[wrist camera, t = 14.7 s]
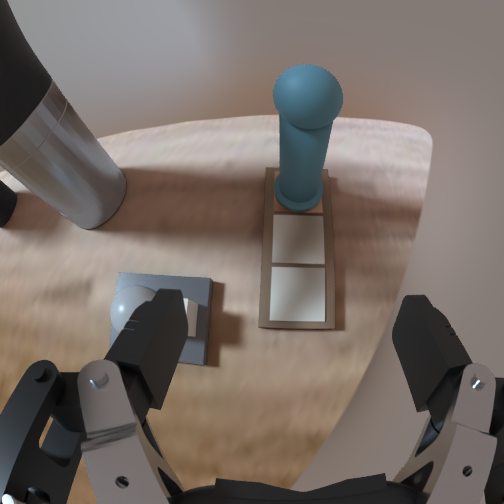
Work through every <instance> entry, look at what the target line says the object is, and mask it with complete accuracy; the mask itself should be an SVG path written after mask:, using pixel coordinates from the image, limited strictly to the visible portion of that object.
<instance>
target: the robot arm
mask: <svg viewBox="0 0 504 504" xmlns="http://www.w3.org/2000/svg"><path fill="white" fill-rule="evenodd" d="M0 165H1V166H2V167H3V168H4V169H5V170H7V171H8V172H9V173H10V174H11V175H12V176H14V177H15V178H16V179H17V180H18V181H20V182H21V183H22V184H23V185H25V187H26V188H28V189H29V190H30V191H31V192H33V193H34V194H35V195H37V196H38V197H39V198H40V199H42V200H43V201H44V202H46V203H47V204H48V205H49V206H51V207H52V208H53V209H55V210H56V211H57V212H59V213H60V214H62V215H63V216H64V217H66V218H67V219H69V220H70V221H72V222H73V223H74V224H76V225H77V226H79V227H80V228H83V229H91V228H95V227H98V226H99V225H101V224H103V223H104V222H106V221H107V220H108V219H109V218H110V217H111V216H112V215H113V214H114V213H115V212H116V210H117V209H118V208H119V206H120V204H121V202H122V200H123V198H124V195H125V191H126V179H125V176H124V174H123V173H122V171H121V170H120V169H119V168H118V166H117V165H116V164H115V163H114V161H113V160H112V159H111V158H110V156H109V155H108V153H107V152H106V151H105V150H104V148H103V147H102V146H101V145H100V143H99V142H98V141H97V139H96V138H95V137H94V135H93V134H92V133H91V132H90V130H89V129H88V128H87V126H86V125H85V124H84V122H83V121H82V120H81V118H80V117H79V116H78V114H77V113H76V112H75V110H74V109H73V107H72V106H71V105H70V103H69V102H68V101H67V99H66V98H65V96H64V95H63V94H62V92H61V91H60V89H59V88H58V87H57V85H56V84H55V82H54V81H53V79H52V78H51V76H50V75H49V73H48V72H47V71H46V69H45V68H44V66H43V65H42V64H41V62H40V61H39V59H38V58H37V56H36V55H35V53H34V52H33V50H32V49H31V47H30V45H29V44H28V42H27V41H26V39H25V37H24V35H23V33H22V32H21V29H20V28H19V26H18V24H17V22H16V19H15V17H14V15H13V13H12V11H11V8H10V6H9V4H8V2H7V0H0ZM187 336H188V320H187V315H186V310H185V305H184V299H183V294H182V292H181V290H178V289H165V288H160V289H158V291H157V292H156V294H155V296H154V297H153V299H152V300H151V301H145V302H144V303H142V304H141V305H140V306H138V307H137V308H136V309H135V310H134V312H133V313H132V315H131V316H130V318H129V321H127V322H126V324H125V326H124V329H122V330H121V332H120V334H119V335H118V337H117V338H116V340H115V342H114V343H113V345H112V346H111V348H110V350H109V351H108V353H107V355H106V356H105V358H104V359H103V360H96V361H93V362H90V363H88V364H87V365H86V366H84V367H83V368H82V370H81V371H80V372H59V371H58V369H57V368H56V366H55V365H54V363H52V362H51V361H48V360H41V361H37V362H35V363H34V364H32V365H31V366H30V367H29V368H28V369H27V370H26V372H25V374H24V375H23V377H22V378H21V380H20V382H19V383H18V385H17V386H16V388H15V390H14V391H13V393H12V395H11V397H10V398H9V400H8V402H7V404H6V405H5V407H4V409H3V411H2V413H1V415H0V504H66V503H67V499H68V496H69V493H70V490H71V486H72V483H73V480H74V477H75V474H76V471H77V468H78V465H79V462H80V459H81V457H82V455H83V459H84V463H85V466H86V470H87V473H88V476H89V480H90V483H91V486H92V489H93V492H94V495H95V497H96V500H97V503H98V504H479V502H480V500H481V497H482V494H483V492H484V493H485V501H486V504H504V378H495V377H494V375H493V373H492V372H491V371H490V370H489V369H488V368H487V367H486V366H484V365H482V364H478V363H472V361H471V359H470V357H469V355H468V354H467V352H466V350H465V348H464V346H463V345H462V343H461V341H460V340H459V338H458V336H457V335H456V333H455V331H454V329H453V328H452V327H451V325H450V323H449V321H448V320H447V318H446V317H445V316H444V315H443V314H442V313H441V312H440V311H439V310H438V309H436V308H434V307H433V306H432V304H431V303H430V301H429V300H428V298H427V297H426V296H425V295H407V296H405V297H404V299H403V301H402V304H401V307H400V310H399V313H398V316H397V319H396V321H395V324H394V327H393V331H392V340H393V344H394V346H395V349H396V352H397V354H398V357H399V360H400V363H401V365H402V368H403V371H404V374H405V377H406V379H407V382H408V385H409V388H410V391H411V394H412V397H413V401H414V404H415V407H416V410H417V412H421V411H425V410H429V412H430V415H429V416H428V418H427V419H426V422H425V424H424V427H423V429H422V431H421V434H420V436H419V439H418V441H417V443H416V445H415V447H414V449H413V451H412V453H411V455H410V457H409V459H408V461H407V463H406V464H405V465H404V467H403V468H402V469H401V470H400V471H399V472H398V474H397V475H396V477H395V478H394V479H393V481H386V476H385V473H383V474H378V475H372V476H367V477H361V478H354V479H347V480H344V481H341V482H338V483H335V484H332V485H329V486H326V487H322V488H319V489H315V490H312V491H308V492H298V491H293V490H289V489H284V488H280V487H275V486H271V485H267V484H263V483H260V482H246V481H235V480H226V479H218V478H216V483H215V485H210V486H203V487H198V488H194V489H190V490H187V491H185V490H184V488H183V486H182V484H181V483H180V481H179V479H178V478H177V476H176V474H175V473H174V471H173V470H172V468H171V467H170V465H169V464H168V462H167V460H166V458H165V456H164V454H163V452H162V450H161V448H160V446H159V444H158V441H157V439H156V437H155V435H154V432H153V430H152V428H151V426H150V423H149V421H148V418H147V417H146V415H147V413H148V410H149V408H154V409H158V410H161V408H162V405H163V402H164V399H165V396H166V394H167V391H168V388H169V385H170V383H171V380H172V377H173V374H174V372H175V369H176V366H177V364H178V361H179V358H180V356H181V353H182V350H183V348H184V345H185V342H186V340H187ZM50 416H51V417H52V418H53V422H52V424H51V426H50V428H49V430H48V433H47V435H46V437H45V439H44V442H43V444H42V446H41V448H39V439H40V437H41V434H42V432H43V430H44V428H45V426H46V423H47V421H48V419H49V417H50Z"/></svg>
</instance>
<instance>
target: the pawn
mask: <svg viewBox="0 0 504 504" xmlns="http://www.w3.org/2000/svg"><path fill="white" fill-rule="evenodd" d="M273 99H274V103H275V107H276V109H277V110H278V112H279V120H280V173H279V175H278V176H277V177H276V180H275V184H274V192H275V197H276V199H277V201H278V202H279V204H280V205H281V206H283V207H284V208H286V209H288V210H290V211H293V212H306V211H309V210H311V209H313V208H314V207H316V206H317V205H318V203H319V202H320V200H321V196H322V193H323V184H322V181H321V175H322V170H323V166H324V161H325V157H326V152H327V148H328V143H329V138H330V133H331V129H332V124H333V120H334V119H335V118H336V117H337V116H338V114H339V112H340V110H341V108H342V104H343V94H342V89H341V87H340V84H339V82H338V81H337V79H336V78H335V77H334V76H333V75H332V74H331V73H330V72H329V71H327V70H326V69H324V68H322V67H319V66H316V65H312V64H302V65H296V66H293V67H291V68H289V69H287V70H286V71H284V72H283V73H282V74H281V75H280V76H279V78H278V79H277V81H276V83H275V86H274V90H273Z"/></svg>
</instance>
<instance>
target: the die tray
mask: <svg viewBox="0 0 504 504" xmlns="http://www.w3.org/2000/svg"><path fill="white" fill-rule="evenodd" d="M212 286H213V280H212V279H211V278H200V277H182V276H164V275H148V274H133V273H120V272H119V275H118V282H117V288H116V295H115V298H114V299H113V302H112V304H111V309H110V316H111V321H112V328H111V339H110V348H111V346H112V345H113V343H114V342H115V340H116V338H117V337H118V335H119V334H120V332H121V330H122V329H124V326H125V324H126V322H127V321H129V318H130V316H131V315H132V313H133V312H134V310H135V309H136V308H137V307H138V306H140V305H141V304H142V303H144V302H145V301H151V300H152V299H153V297H154V296H155V294H156V292H157V291H158V289H160V288H165V289H178V290H181V292H182V294H183V299H184V305H185V310H186V315H187V320H188V336H187V340H186V342H185V345H184V348H183V350H182V353H181V356H180V358H179V361H178V362H184V363H191V364H199V365H205V364H207V349H208V335H209V322H210V309H211V297H212Z"/></svg>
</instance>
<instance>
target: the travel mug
mask: <svg viewBox="0 0 504 504" xmlns="http://www.w3.org/2000/svg"><path fill="white" fill-rule="evenodd" d="M16 200H17V196H16V194H15V192H14V191H12V190H11V189H10V188H9V187H8V186H7V185H5V184H4V183H3V182H2V181H1V180H0V227H2V226H4V225H5V224H6V223H7V221H8V220H9V219H10V217H11V215H12V213H13V211H14V208H15V205H16Z"/></svg>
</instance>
